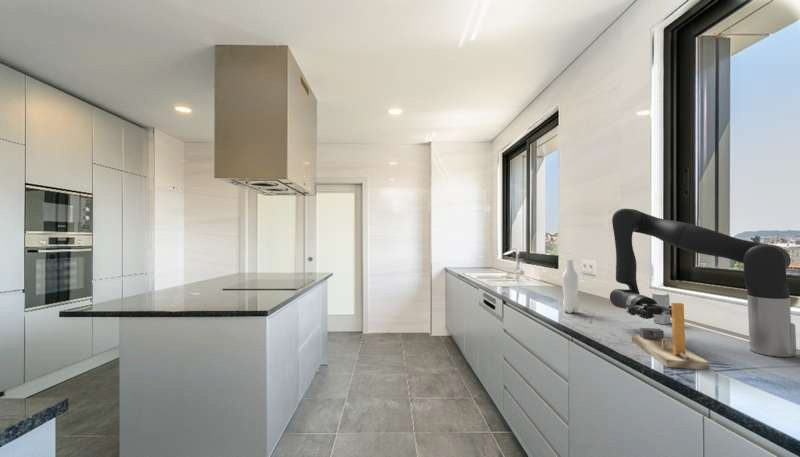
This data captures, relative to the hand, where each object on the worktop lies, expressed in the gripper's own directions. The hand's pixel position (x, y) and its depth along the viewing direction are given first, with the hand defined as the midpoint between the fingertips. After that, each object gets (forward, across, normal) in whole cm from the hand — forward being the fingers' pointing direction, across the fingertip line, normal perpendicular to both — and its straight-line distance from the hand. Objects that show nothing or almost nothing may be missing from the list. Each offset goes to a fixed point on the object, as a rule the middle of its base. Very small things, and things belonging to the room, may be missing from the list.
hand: (662, 315), depth 114 cm
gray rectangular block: (-7, 0, +10) cm, 12 cm away
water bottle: (-60, -15, +12) cm, 62 cm away
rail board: (+1, 0, +12) cm, 12 cm away
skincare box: (-44, +17, +12) cm, 48 cm away
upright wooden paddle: (+9, 0, +9) cm, 13 cm away
